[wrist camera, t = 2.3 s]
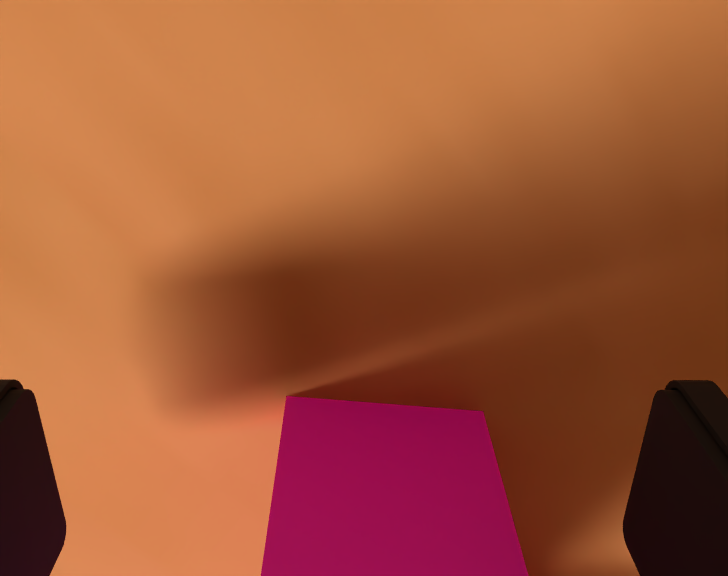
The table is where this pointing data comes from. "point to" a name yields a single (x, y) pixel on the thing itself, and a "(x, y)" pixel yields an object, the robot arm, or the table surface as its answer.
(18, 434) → the robot arm
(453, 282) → the table surface
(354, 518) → the toy block
